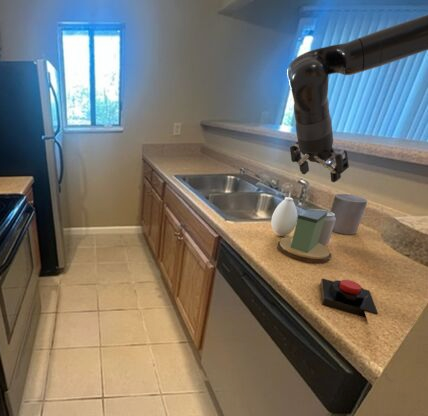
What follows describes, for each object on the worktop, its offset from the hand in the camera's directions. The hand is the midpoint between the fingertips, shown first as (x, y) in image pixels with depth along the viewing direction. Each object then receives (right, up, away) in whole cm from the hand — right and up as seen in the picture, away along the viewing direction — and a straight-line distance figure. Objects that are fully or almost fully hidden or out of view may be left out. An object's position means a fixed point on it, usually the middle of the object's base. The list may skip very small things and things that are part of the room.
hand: (319, 176), depth 82 cm
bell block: (-1, -34, -10) cm, 35 cm away
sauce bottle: (+5, -20, +25) cm, 33 cm away
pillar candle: (+31, -18, +29) cm, 46 cm away
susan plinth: (+4, -25, +13) cm, 28 cm away
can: (+14, -22, +20) cm, 33 cm away
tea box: (+4, -23, +13) cm, 27 cm away
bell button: (-2, -31, -11) cm, 33 cm away
